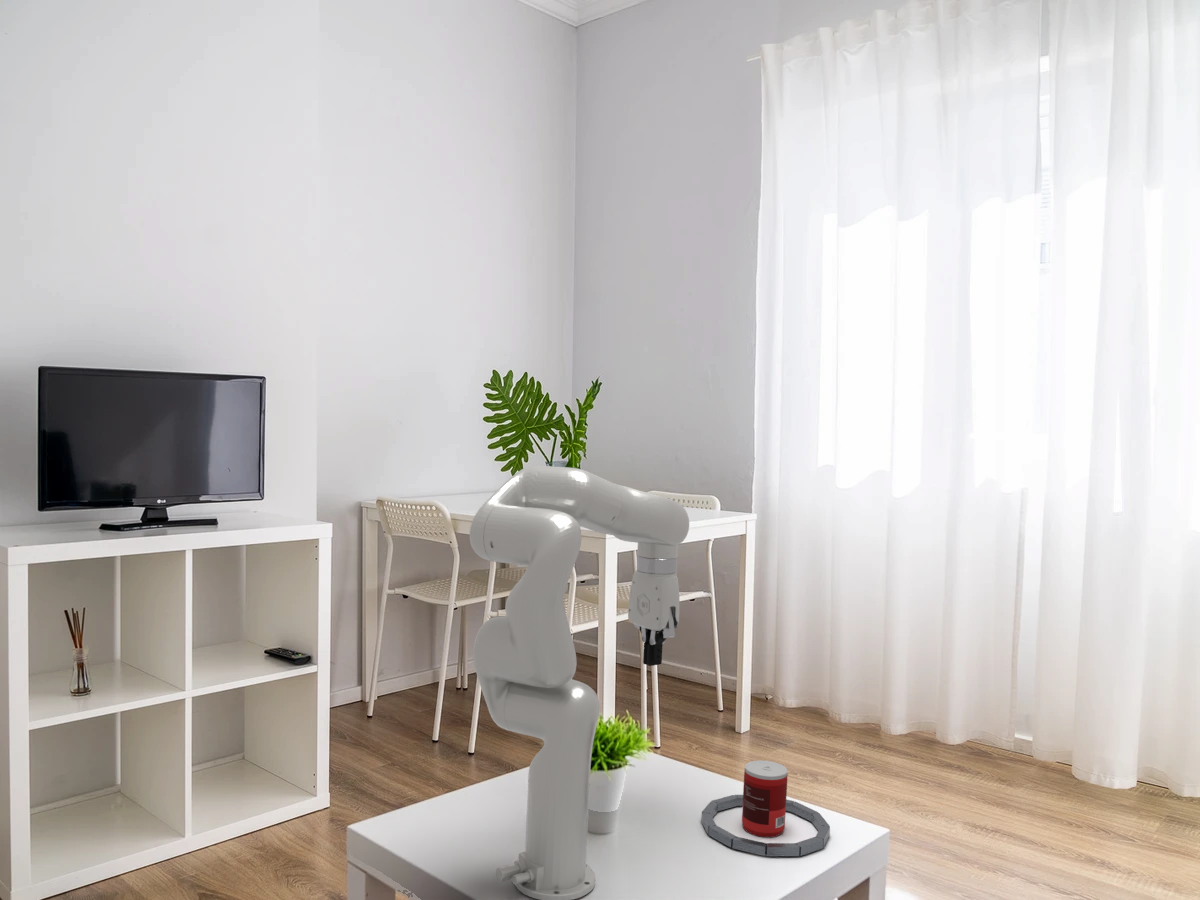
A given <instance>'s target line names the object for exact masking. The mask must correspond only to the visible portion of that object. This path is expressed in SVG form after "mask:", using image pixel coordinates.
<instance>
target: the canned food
mask: <svg viewBox="0 0 1200 900" xmlns="http://www.w3.org/2000/svg"><path fill="white" fill-rule="evenodd" d="M743 772H744V773H743V790H742V791H743V793H742V795H743V806H742V809H741V811H742V813H741V822H742V823H741V824H742V826H743V829H744V830H745V831H746V832H747V833H749V834H751V835H753V836H756V837H760V838H761V837H762V838H775V837H778V836H781V834H782V833H783V832H784V829H785V826H786V813H787V811H786V799H787V795H788V794H787V793H788V790H787V789H788V775H789V774H788V769H787V767H786V766H784V765H783V764H781V763H778V762H775V761H771V760H762V759H761V760H758V759H757V760H753V761H752V760H751V761H749V762H747V763H745V765H744V771H743Z"/></svg>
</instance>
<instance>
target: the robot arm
mask: <svg viewBox="0 0 1200 900" xmlns="http://www.w3.org/2000/svg"><path fill="white" fill-rule="evenodd" d="M581 527H582V528H585V529H587V530H589V531H593V532H596V533H599V534H603V535H609V536H613V537H615V538H616V539H617V540H620V541H623V542H630V543H637V551H636V552H637V553H636V554H637V555H636V570H634V572H633V576H632V579H631V585H630V589H629V590H630V591H629V599H628V607H627V608H628V609H627V610H628V612H627V619H628V620H629V622H630V623H631V624H633V627H635V628H636V629H637V630H638V631H639V633H640V634H641V641H642V642H643V655H642V656H643V658H642V663H643V665H647V666H648V667H651V666H652V667H653V666H658V665H662V662H663V646H664V645H663V644H665V642H666V640H667V639H670V638H675V637H676V632H675V630H676V629H678V627H679V622H680V585H679V579H678V576H677V575H678V559H679V556H678V555H679V545H680V544H682V543H683V542H684V541H685V539H686V538H687V535H688V533H689V530H690V519H689V515H688V512H687V510H686V509H685V507H684V506H683V505H682V504H681V503H679V502H677V501H675V500H673V499H670V498H668V497H665V496H661V495H658V494H654V493H651V492H650V493H649V492H648V491H647V492H645V491H643V490H639V489H635V488H632V487H630V486H624V485H621V484H617V483H615V482H612V481H609V479H605V478H603V477H601V476H599V475H596V474H595V473H592V472H589V471H587V470H585V469H581V468H578V467H577V468H576V467H568V466H565V467H564V466H552V465H528V466H526V467H524V468H522V469H520V470H518V471H517V472H516V473H515V474H513V475H512V476H511V477H509V478H508V480H507V481H505V482H503V484H502V485H501V486H500V487H499V488H498V489H497V491H495V492H494V493H493V494H492V495H491V496H490V497H489V498H488V499H487V500H486V501H485V502H484V503H483V504H482V505H481V507H480V508H479V509H478V510H477V511H476V513H475V515H474V517H473V518H472V521H471V524H470V527H469V543H470V546H471V548H472V550H473V551H474V553H475V554H476V555H477V556H479V557H480V558H481V559H483V560H486V561H489V562H495V563H502V564H511V565H519V566H526V567H527V568H526V570H525V572H524V573H523V575H522V577H521V578H520V579H519V580H518V581H517V582H516V584H515V585H514V586H513V587H512V589H511V590H510V592H509V594H508V596H507V597H506V598H507V599H506V601H505V608H504V609H505V616H503V615H501V616H494V617H491V618H489V619H488V620H486V621H485V622H483V623H482V625H480V627H479V629H478V631H477V632H476V636H475V637H474V638H475V639H474V643H473V652H472V653H473V654H472V655H473V657H472V658H473V659H472V660H473V665H474V670H475V672H476V676H477V680H478V682H479V686H480V688H481V691H482V694H483V697H484V701H485V704H486V706H487V710H488V712H489V715H490V717H491V719H492V720H493V722H494V723H495V724H496V725H497V726H498V727H499V728H501V729H503V730H506V731H508V732H511V733H512V732H513V733H515V734H520V735H525V736H529V737H533V738H536V739H540V740H542V741H543V746H542V747H541V749H540V750H539V751H538V752H537V753H536V754H535V756H534V757H533V758H532V760H531V763H530V765H529V766H528V767H529V768H528V777H527V800H526V801H527V804H526V805H527V806H526V821H525V823H526V824H525V845H524V846H525V847H524V848H525V849H524V850H525V851H522V852H519V853H518V860H516V861H514V862H513V864H511V865H509V864H508V865H504V866H501V867H498V868H496V870H495V875H496V879H497V880H498V882H500V883H501V882H504V881H508V880H510V879H511V881H512V884H513V885H514V886H515V888H517V889H518V891H519V892H521V893H522V894H523V895H525V896H527V897H529V898H532V899H535V900H575V899H577V900H578V899H580V898H582V897H585V895H587V894H589V893H590V892H591V891H592V890H593V889H594V888H595V885H596V874H595V871H594V870H593V868H591V867H590V865H588V864H587V850H588V849H587V846H588V830H589V829H588V825H589V824H588V823H589V807H590V804H589V803H590V785H591V784H590V779H591V765H592V754H593V746H594V740H595V737H596V736H595V735H596V731H597V725H598V723H599V722H598V721H599V717H600V710H601V707H600V699H599V697H598V695H597V693H596V691H595V690H594V689H593V688H592V687H591V686H590V685H588V684H586V683H584V682H581V681H579V680H575V679H573V678H574V676H575V674H576V670H577V664H578V663H577V654H576V649H575V645H574V639H573V637H572V632H571V629H570V624H569V621H568V617H567V612H566V608H565V607H566V606H565V603H564V600H565V597H564V596H565V592H566V588H567V585H568V582H569V579H570V577H571V575H572V572H573V569H574V566H575V564H576V561H577V559H578V556H579V553H580V550H581V546H582V530H581Z"/></svg>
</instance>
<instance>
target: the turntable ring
mask: <svg viewBox="0 0 1200 900" xmlns="http://www.w3.org/2000/svg"><path fill="white" fill-rule="evenodd" d="M738 806H739V807H741V806H742V807H743V794H733V795H727V796H724V797H719V798H717V799H713V800H710V802H709V803H708V804H707V805H706V806H705V808H703V810H702V811H701V815H700V816H701V818H700V821H701V823H702V825H703V827H704V830H705V832H706V833H707V835H708V836H709V837H711V838H713V839H715V840H716V841H718V842H720V843H722V844H724V845H726V846H727V847H729V848H732V849H734V850H738V851H742V852H746V853H750V854H755V855H760V856H765V857H801V856H804V855H808V854H810V853H813V852H816V851H819V850H821V849H823V848H825V846H826V843H827V841H828V840H829V837H830V832H831V826H830V824H829V823H828V822H827V820H825V818H824V817H823V816H822V814H821V813H819V812H818V811H817V810H814V809H812V808H811V807H808V806H806V805H804V804H801V803H800V802H797V801H795V800H790V799H787V798H786V812H790V813H793V814H795V815H796V816H799V817H801V818H803V819H805V820H807V821H809V822H811V823H812V824H813V826H814V827H815V828H816V830H817V833H816V834H815V836H813V837H809V838H807V839H804V840H801V841H798V842H789V843H788V842H784V843H783V842H775V843H774V842H771V843H769V842H768V843H767V842H762V841H759V840H753V839H751V838H750V839H748V838H745V837H740V836H736V835H735V834H733V833H732V832H729V831H727V830H726V829H723V827H720V826H718V825H717V824H716V822H715V819H714V817H715V815H717V813H718V812H721V811H723V810H727V809H730V808H735V807H738Z"/></svg>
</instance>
